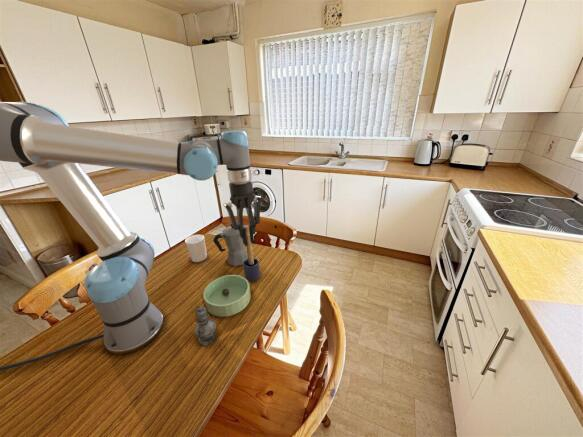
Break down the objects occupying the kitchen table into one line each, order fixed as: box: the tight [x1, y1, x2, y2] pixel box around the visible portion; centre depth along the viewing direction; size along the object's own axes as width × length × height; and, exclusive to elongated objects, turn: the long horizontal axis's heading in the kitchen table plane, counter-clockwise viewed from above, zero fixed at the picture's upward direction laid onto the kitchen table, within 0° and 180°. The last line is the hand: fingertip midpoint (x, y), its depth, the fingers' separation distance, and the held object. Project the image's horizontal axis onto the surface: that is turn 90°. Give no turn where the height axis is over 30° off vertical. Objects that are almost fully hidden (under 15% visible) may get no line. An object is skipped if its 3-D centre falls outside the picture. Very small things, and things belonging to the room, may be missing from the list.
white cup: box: [184, 234, 208, 263], centre depth 105 cm, size 8×8×10 cm
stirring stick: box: [243, 224, 254, 265], centre depth 88 cm, size 2×2×16 cm
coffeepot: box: [213, 223, 248, 267], centre depth 100 cm, size 15×9×18 cm, turn 129°
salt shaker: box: [194, 306, 217, 346], centre depth 67 cm, size 6×6×12 cm
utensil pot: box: [242, 257, 261, 282], centre depth 92 cm, size 6×6×7 cm
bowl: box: [202, 274, 252, 318], centre depth 82 cm, size 15×15×5 cm
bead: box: [222, 289, 229, 296], centre depth 84 cm, size 2×2×2 cm
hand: (248, 243), depth 87 cm, fingers closed on stirring stick, 2 cm apart
